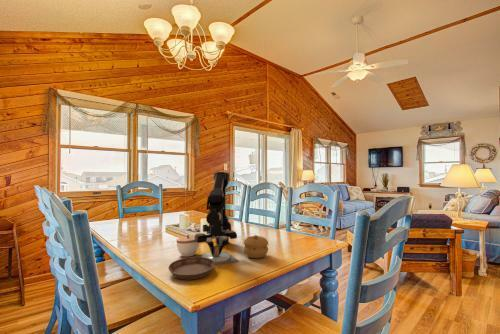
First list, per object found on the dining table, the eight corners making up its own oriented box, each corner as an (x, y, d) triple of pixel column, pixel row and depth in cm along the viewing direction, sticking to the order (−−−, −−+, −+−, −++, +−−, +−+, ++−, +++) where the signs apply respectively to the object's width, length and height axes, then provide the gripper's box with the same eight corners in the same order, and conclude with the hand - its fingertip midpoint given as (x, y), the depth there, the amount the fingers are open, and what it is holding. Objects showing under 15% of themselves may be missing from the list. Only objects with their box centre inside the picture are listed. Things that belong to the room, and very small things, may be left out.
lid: (224, 252, 129) (224, 241, 129) (234, 260, 117) (234, 247, 117) (198, 255, 123) (198, 244, 123) (206, 264, 111) (206, 251, 111)
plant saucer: (218, 278, 97) (217, 270, 97) (168, 285, 92) (168, 276, 92) (211, 262, 114) (211, 255, 114) (168, 266, 109) (168, 259, 109)
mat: (226, 251, 131) (226, 251, 131) (238, 261, 116) (238, 260, 116) (194, 256, 123) (194, 255, 123) (203, 267, 109) (203, 266, 109)
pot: (240, 254, 127) (240, 233, 127) (262, 251, 131) (262, 231, 131) (248, 262, 116) (248, 239, 116) (272, 259, 120) (272, 237, 120)
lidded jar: (194, 258, 119) (193, 237, 119) (172, 257, 121) (172, 237, 121) (203, 251, 129) (202, 232, 130) (183, 251, 132) (182, 232, 132)
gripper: (228, 216, 132) (228, 248, 131) (191, 219, 123) (191, 252, 123) (237, 220, 122) (237, 254, 121) (198, 223, 113) (197, 260, 113)
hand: (215, 255), depth 120 cm, fingers closed on lid, 3 cm apart
